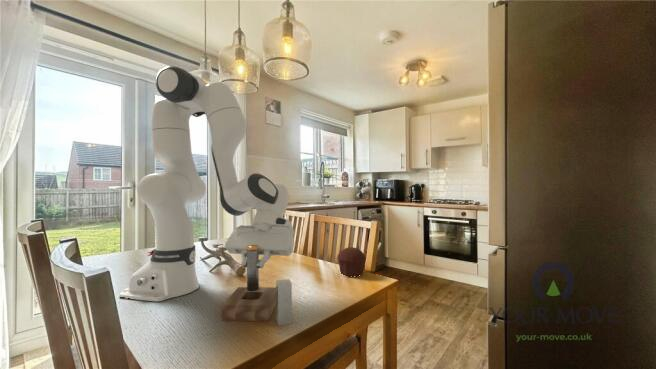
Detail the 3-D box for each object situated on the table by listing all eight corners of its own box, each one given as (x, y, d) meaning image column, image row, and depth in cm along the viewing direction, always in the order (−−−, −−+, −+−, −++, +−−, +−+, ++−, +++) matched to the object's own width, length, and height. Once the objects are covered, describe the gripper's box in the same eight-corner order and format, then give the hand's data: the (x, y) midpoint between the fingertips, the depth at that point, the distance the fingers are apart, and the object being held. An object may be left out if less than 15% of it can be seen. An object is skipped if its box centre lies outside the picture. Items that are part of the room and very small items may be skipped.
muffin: (332, 271, 108) (332, 246, 108) (356, 267, 112) (356, 244, 112) (346, 280, 97) (346, 253, 97) (371, 276, 101) (371, 250, 101)
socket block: (221, 320, 68) (221, 305, 68) (238, 300, 80) (238, 287, 80) (268, 321, 68) (268, 305, 68) (277, 300, 80) (277, 287, 80)
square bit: (278, 325, 66) (278, 285, 66) (276, 319, 69) (276, 280, 69) (291, 323, 67) (291, 283, 67) (289, 317, 70) (289, 279, 70)
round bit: (245, 291, 72) (244, 247, 72) (249, 286, 76) (248, 244, 76) (257, 291, 72) (256, 247, 72) (260, 286, 75) (259, 244, 76)
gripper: (232, 219, 83) (213, 259, 73) (294, 220, 79) (283, 262, 69) (239, 231, 87) (222, 270, 78) (299, 232, 83) (289, 274, 74)
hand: (251, 266), depth 73 cm, fingers closed on round bit, 3 cm apart
